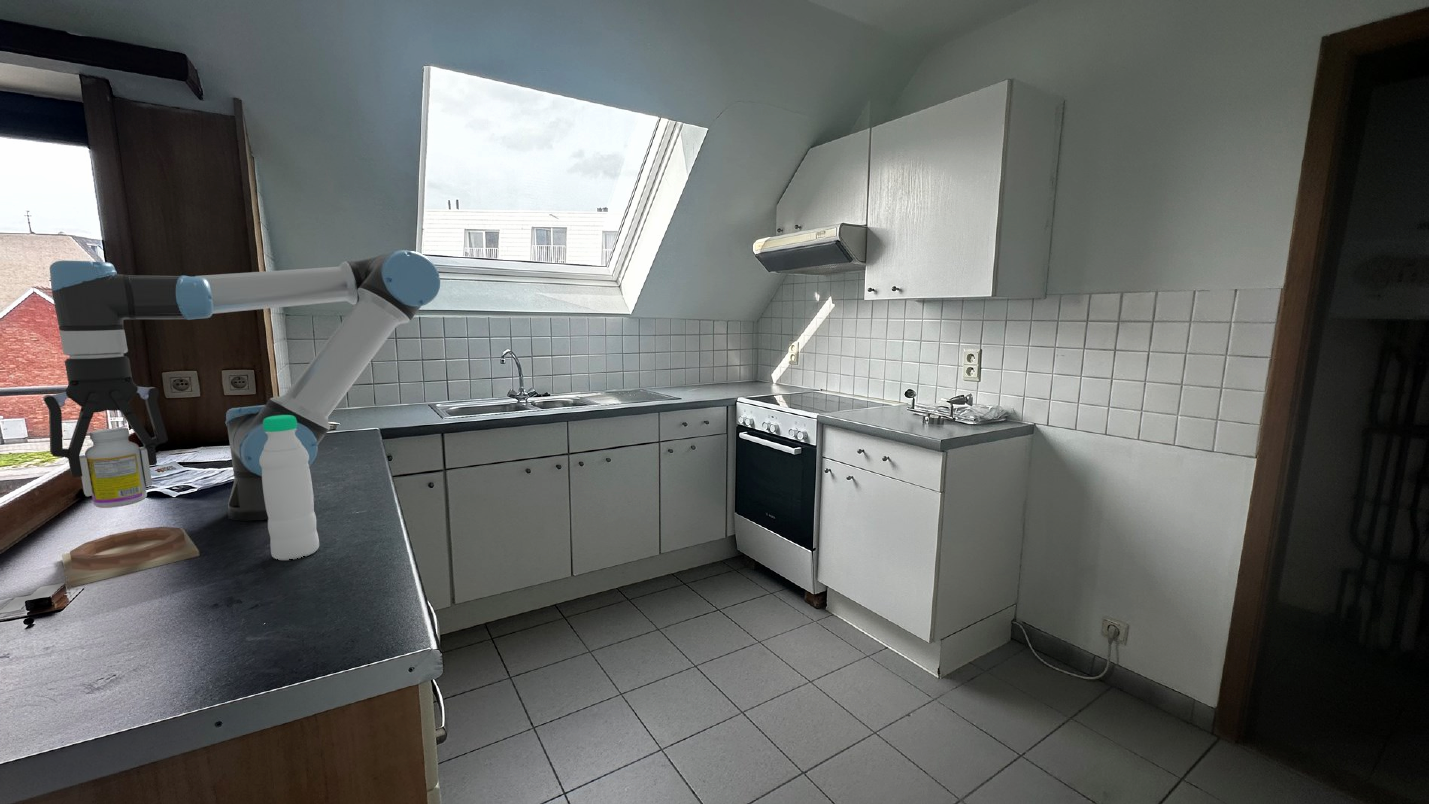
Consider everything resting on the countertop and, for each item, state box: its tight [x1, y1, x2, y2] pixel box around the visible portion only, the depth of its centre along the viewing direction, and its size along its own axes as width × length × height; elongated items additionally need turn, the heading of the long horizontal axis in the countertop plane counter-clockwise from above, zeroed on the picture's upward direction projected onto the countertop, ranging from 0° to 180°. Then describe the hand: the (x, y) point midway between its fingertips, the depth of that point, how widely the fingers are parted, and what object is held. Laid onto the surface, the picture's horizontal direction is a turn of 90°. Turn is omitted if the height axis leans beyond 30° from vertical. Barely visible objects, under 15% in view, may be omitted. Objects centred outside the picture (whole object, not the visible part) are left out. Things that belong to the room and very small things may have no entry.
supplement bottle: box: [84, 427, 148, 509], centre depth 102 cm, size 7×7×13 cm
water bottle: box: [259, 415, 320, 561], centre depth 105 cm, size 7×7×25 cm
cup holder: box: [61, 526, 200, 588], centre depth 105 cm, size 16×16×3 cm
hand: (119, 488), depth 103 cm, fingers closed on supplement bottle, 7 cm apart
